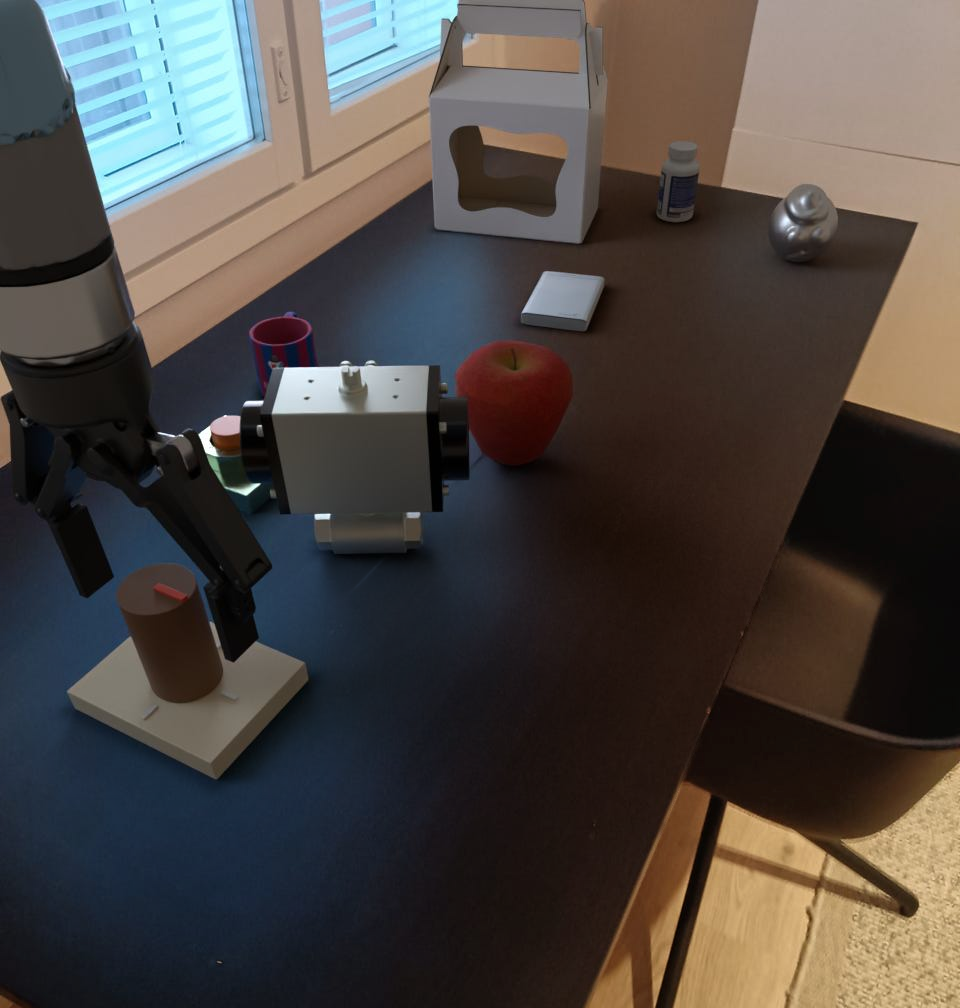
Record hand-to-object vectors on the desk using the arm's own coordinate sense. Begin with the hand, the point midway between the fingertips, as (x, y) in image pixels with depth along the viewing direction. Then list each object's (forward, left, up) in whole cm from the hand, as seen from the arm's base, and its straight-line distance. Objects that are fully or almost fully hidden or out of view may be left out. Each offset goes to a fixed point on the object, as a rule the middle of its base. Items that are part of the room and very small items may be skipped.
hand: (167, 616), depth 66 cm
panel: (0, 0, -8) cm, 8 cm away
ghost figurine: (+19, +100, -9) cm, 102 cm away
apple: (+7, +40, -9) cm, 42 cm away
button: (-16, +25, -5) cm, 30 cm away
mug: (-22, +42, -9) cm, 48 cm away
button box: (-16, +25, -8) cm, 31 cm away
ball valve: (+2, +22, -9) cm, 24 cm away
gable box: (-21, +95, -9) cm, 98 cm away
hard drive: (-3, +73, -9) cm, 74 cm away
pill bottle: (-1, +107, -9) cm, 107 cm away
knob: (0, 0, -6) cm, 6 cm away
